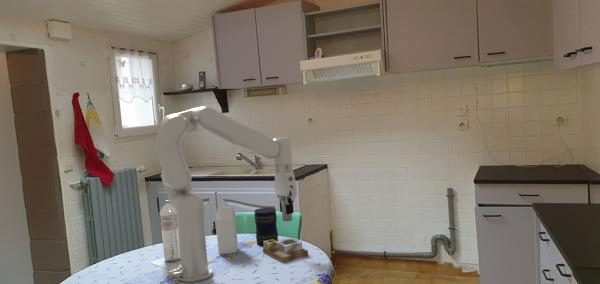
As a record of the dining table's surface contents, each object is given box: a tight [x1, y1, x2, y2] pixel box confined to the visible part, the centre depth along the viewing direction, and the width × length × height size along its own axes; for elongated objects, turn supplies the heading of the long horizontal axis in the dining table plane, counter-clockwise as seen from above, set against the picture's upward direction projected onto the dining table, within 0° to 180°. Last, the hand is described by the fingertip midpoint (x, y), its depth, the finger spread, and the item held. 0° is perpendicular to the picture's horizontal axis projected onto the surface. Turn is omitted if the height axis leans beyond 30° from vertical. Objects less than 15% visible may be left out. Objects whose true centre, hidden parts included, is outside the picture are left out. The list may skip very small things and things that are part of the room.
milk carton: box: [215, 206, 239, 255], centre depth 189 cm, size 7×7×19 cm
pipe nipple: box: [280, 195, 293, 222], centre depth 179 cm, size 5×5×10 cm
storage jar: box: [253, 207, 279, 247], centre depth 197 cm, size 10×10×15 cm
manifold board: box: [262, 237, 309, 264], centre depth 180 cm, size 12×16×5 cm
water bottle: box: [159, 199, 181, 262], centre depth 183 cm, size 7×7×25 cm
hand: (286, 212), depth 179 cm, fingers closed on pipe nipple, 4 cm apart
